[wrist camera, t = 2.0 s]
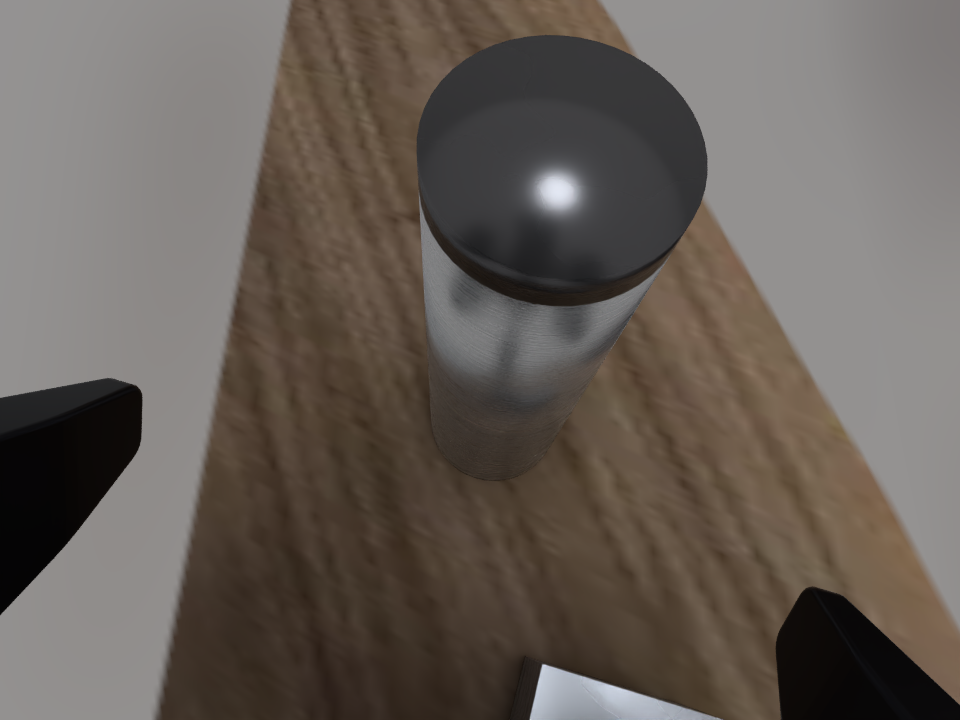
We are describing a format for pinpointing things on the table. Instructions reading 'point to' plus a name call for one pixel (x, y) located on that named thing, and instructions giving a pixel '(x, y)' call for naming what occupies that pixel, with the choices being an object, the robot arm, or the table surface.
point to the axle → (542, 233)
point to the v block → (587, 698)
